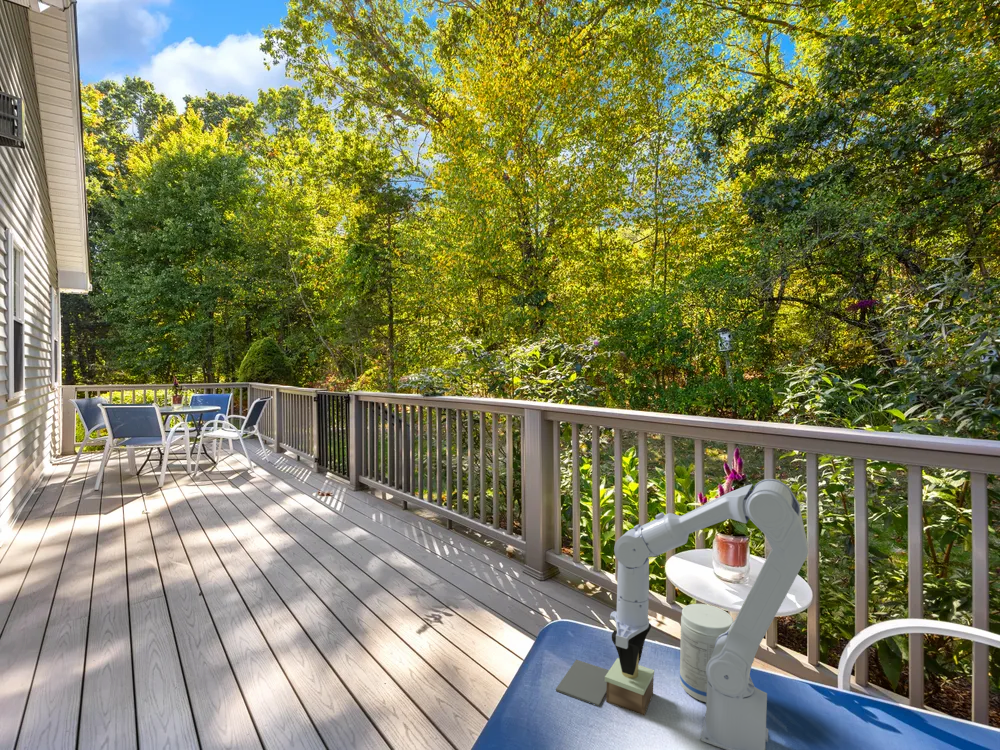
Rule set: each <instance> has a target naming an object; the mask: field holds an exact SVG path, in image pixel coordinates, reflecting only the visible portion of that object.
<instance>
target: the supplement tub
mask: <svg viewBox="0 0 1000 750" xmlns="http://www.w3.org/2000/svg"><path fill="white" fill-rule="evenodd" d="M733 622H734V619H733V616H731V614H729V612H727V611H725V610H724V609H722V608H719V607H717V606H714V605H712V604H706V603H705V604H704V603H691V604H688V605H685V606H684V607H683V608H682V610H681V616H680V645H679V646H680V652H679V656H680V657H679V660H680V661H679V682H680V683H679V684H680V685H681V687H682V688H683V690H684V691H685V693H687V694H688V695H690V696H691V697H692V698H694V699H696V700H697V701H698V700H699V701H701V702H704V703H706V702H707V673H706V667H707V663H708V661H709V660H710V658H711V656H712V653H713V650H714V648H715V642H716V640H717V638H718V637H719V636H720V635H721V634H723V633H725V632H727V631H728V630H729V628H730V626H731V624H732V623H733Z"/></svg>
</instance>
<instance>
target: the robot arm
mask: <svg viewBox="0 0 1000 750" xmlns="http://www.w3.org/2000/svg"><path fill="white" fill-rule="evenodd" d="M752 486H753V488H752ZM751 488H752V489H751ZM654 517H655V519H653V520H650V521H649V522H647V523H645V524H642V525H641V523H639V524H636V525H634V527H633V528H631V529H629V530H627V531H625V533H624V534H623V535H621V536H620V537H618V539H617V540H616V542H615V543H614V547H613V548H614V549H613V551H614V552H613V553H614V557H615V558H616V559H617V579H616V580H617V582H616V583H617V584H616V585H617V586H616V610H615V611H611V613H610V615H609V616H610V617H609V618H610V620H613V621H615V628H616V630H615V629H613V631H612V633H611V641H612V642H613V644H614V646H615V649H616V652H617V654H618V658H619V660H620V665H621V669H622V672H623V673H627V674H630V675H633V674H634V672H635V668H636V663H637V657H638V653H639V663H638V665H640V662H641V657H642V653H643V651H644V645H645V641H646V638H647V635H648V633H649V632H650V630H651V629H652V624H651V623H650V620H649V598H650V597H649V596H650V595H649V594H650V593H649V590H650V569H649V568H650V558H649V557H652V558H653V557H658V556H660V555H664V554H665V553H667V552H669V551H672V550H674V549H676V548H679V547H682V546H684V545H685V544H687V543H688V540H689V536H690V534H692V533H695V532H697V531H698V532H699V531H700V530H703V529H705V528H708V527H710V526H714V525H716V524H718V523H722V522H724V521H727V520H734V521H737V522H739V523H742V524H747V523H748V522H749V520H750V521H751V522H752V523H753V525H755V526H756V527H757V528H758V529H759V530H760V532H762V533H763V534H764V536H765V538H766V540H767V541H768V542H767V543H768V544H769V545H770V548H771V550H770V551H769V553H768V555H767V556H766V560H765V561H764V562H763V565H762V567H761V569H760V570H759V573H758V575H757V576H756V578H755V581H754V582H753V584H752V586H751V588H750V589H749V592H748V594H747V596H746V598H745V600H744V601H743V603H742V606H741V608H740V610H739V611H738V612H737V615H736V616H735V619H734V620H733V623H732V624H731V626H730V628H729V630H728V631H727V632H725V633H723V634H721V635H720V636H719V637H718V638H717V640H716V642H715V648H714V650H713V653H712V656H711V658H710V660H709V661H708V663H707V667H706V673H707V702H705V703H706V704H705V705H706V708H705V709H706V711H705V714H704V719H703V724H702V727H701V728H702V729H701V733H700V740H701V742H704V743H707V744H710V745H711V746H715V747H718V748H721V749H723V750H766V742H767V743H769V728H767V711H768V710H767V708H768V707H767V705H768V704H767V703H768V693H767V692H765V691H763V690H761V689H760V688H758V687H755V684H754V683H753V679H752V678H751V675H750V673H751V671H752V666H753V663H754V660H755V657H756V655H757V652H758V649H759V647H760V644H761V643H762V641H763V639H764V638H765V635H766V634H767V632H768V630H769V628H770V627H771V625H772V622H773V621H774V619H775V617H776V615H777V613H778V612H779V609H780V608H781V606H782V604H783V602H784V600H785V599H786V597H787V595H788V593H789V592H790V589H791V587H792V586H793V583H794V581H795V580H796V578H797V576H798V574H799V572H801V569H802V567H803V565H804V563H805V561H806V560H807V557H808V553H809V543H808V539H807V534H806V530H805V526H804V521H803V517H802V512H801V507H800V502H799V501H798V500H797V497H796V496H795V494H794V493H793V491H792V490H791V489H790V487H789V486H788V485H787V484H786V483H784V482H782V480H779V479H774V478H765V479H761V480H760V481H758V482H757V483H755V485H753V483H751V484H748V485H745V486H744V485H743V486H741V487H739V488H737V489H735V490H732V491H729V492H727V493H725V494H723V495H721V496H719V497H717V498H715V499H713V500H711V501H709V502H707V503H705V504H703V505H701V506H699V507H697V508H695V509H693V510H691V511H688V512H687V513H685V514H683V515H678V514H675V513H672V512H668V513H667V514H665V513H664V512H660V513H658V514H656V515H655V516H654Z"/></svg>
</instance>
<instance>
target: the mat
mask: <svg viewBox="0 0 1000 750" xmlns="http://www.w3.org/2000/svg"><path fill="white" fill-rule="evenodd" d="M609 670H610V669H606V668H603V667H600V666H597V665H594V664H592V663H589V662H585V661H582V660H579V659H575V660H574V662H573V664H572V665H571V666H570V668H569V669H568V670H567V672H566V674H565V675H564V676H563V678H562V679H561V681H560V682H559V684H558V685H557V686H556V688H555V692H557V693H561V694H564V695H566V696H569V697H571V698H574V699H576V698H577V700H579V699H580V700H579V701H582V700H583V701H582V702H585V701H587V702H590V703H593V704H595V705H594V706H596V705H597V706H596V707H598V706H599V707H600V705H601V704H602V702H603V701H604V698H605V696H606V690H607V682H606V681H605V676H606V674H607V673H608V671H609ZM587 702H586V703H587ZM590 703H589V704H590ZM593 704H592V705H593Z"/></svg>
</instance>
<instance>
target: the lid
mask: <svg viewBox="0 0 1000 750" xmlns="http://www.w3.org/2000/svg"><path fill="white" fill-rule="evenodd" d="M638 663H639V664H638ZM608 670H609V671H608V673H607V674H606V676H605V681H606V682H609V683H611V684H614V685H617V686H620V687H622V688H625V689H628V690H630V691H633V692H636V693H638V694H641V695H644V693H645V691H646V689H647V687H648V686H649V684H650V682H651V680H652V678H653V676H654V677H655V670H654V669H652V668H649V667H646V666H643V665H641V664H640V661H639V653H638V657H637V663H636V668H635V672H634V674H633V675H630V674H627V673H623V672H622V669H621V665H620V660H619V657H617V658H616V659H615V661H614V663H613V664H612V666H611V667H610V668H609V669H608Z"/></svg>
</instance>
